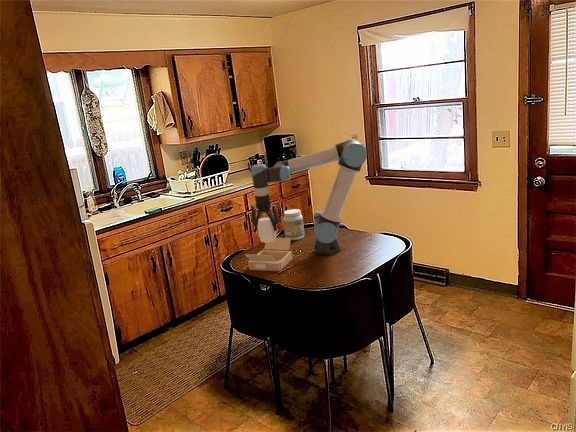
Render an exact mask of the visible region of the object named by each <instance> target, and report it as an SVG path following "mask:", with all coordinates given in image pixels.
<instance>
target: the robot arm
mask: <svg viewBox="0 0 576 432" xmlns="http://www.w3.org/2000/svg"><path fill="white" fill-rule="evenodd" d="M367 156H368V151H367V147H366V146H365V145H364V144H363V143H362V142H361V141H360V140H358V139H356V138H355V139H354V138H352V139H348V140H345V141H343V142H339V143H336V144H334V145H333V147H329V148H326V149H322V150H319V151H316V152H311V153H309V154H305V155H302V156H298V157H294V158H291V159H287V160H284V161H277V162H276V163H275V164H274V165H273V166H272V167H267V166H266V164H263V163H262V164H254V165H252V166H251V168H250V169H251V178H252V185H253V192H254V200H255V204H253V205H251V206H250V209H251V224H253V225H254V226H255V230H256V231H257V237H258V238H260V235H259V228H258V220H259V219H260V218H262V214H263V213H265V214H266V215H267V217H269V218H270V220H271V222H272V224H273V225H272V233H273V237H275V238H277V231H278V228H277V227H278V224H280V223H281V222H280V219H279V218H280V217H279V214H278V211H277V205H276V204H272V203H271V197H270V190H269V183H279V182H287V181H290V180H291V178H292V177H291V174H295V173H296V174H297V173H300V172H302V171H303V172H304V171H307V170H310V169H313V168H316V167H321V166H325V165H328V164H331V163H335V162H338V163H337V165H338V167H339V169H338V171H337V174H336V177H335V179H334V182H333V185H332V188H331V190H330V194H329V197H328V198H327V201H326V204H325V207H324V209H323V210H316V211H314V212H313V216H312V217H313V218H312V219H313V224H314V231H313V232H314V233H313V234H314V236H315V241H314V245H313V252H314V253H315V254H316V255H320V256H329V255H334V254H337V253H339V252H340V251H342V246H341V243H340V241H339V239H338V234H339V232H338V230H339V227H340V225H341V222H342V219H341V214H342V211H343V208H344V206H345V202H346V200H347V198H348V195H349V192H350V190H351V187H352V185H353V182H354V180H355V177H356V174H358V173H359V172H360V171H361V168H362V167H363V164H365V162H366V160H367Z"/></svg>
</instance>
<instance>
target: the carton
mask: <svg viewBox="0 0 576 432" xmlns="http://www.w3.org/2000/svg"><path fill="white" fill-rule="evenodd" d="M256 255H272V257H273V258H274V259H275V260H276V262H266V261H250V260H249V259H248V261H247V264H248V269H249V270H250V271H264V272H279V273H280V272H281V271H282V270H284V268H285V267H286V266H287V265H288V264H290V263H291V262H292V261H293V259H294V257H293V251H291V250H267V249H262V250H261V251H259V252H258V253H257V254H256Z"/></svg>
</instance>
